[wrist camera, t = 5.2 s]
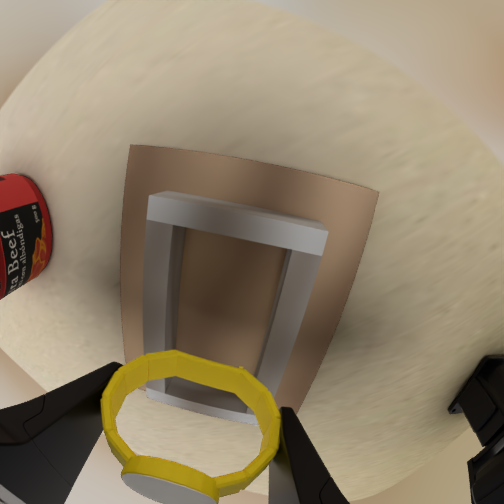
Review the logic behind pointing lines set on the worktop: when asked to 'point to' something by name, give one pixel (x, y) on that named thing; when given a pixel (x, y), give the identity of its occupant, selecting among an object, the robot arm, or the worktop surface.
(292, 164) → the worktop surface
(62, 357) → the worktop surface
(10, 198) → the canned food
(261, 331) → the track board
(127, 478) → the watch
